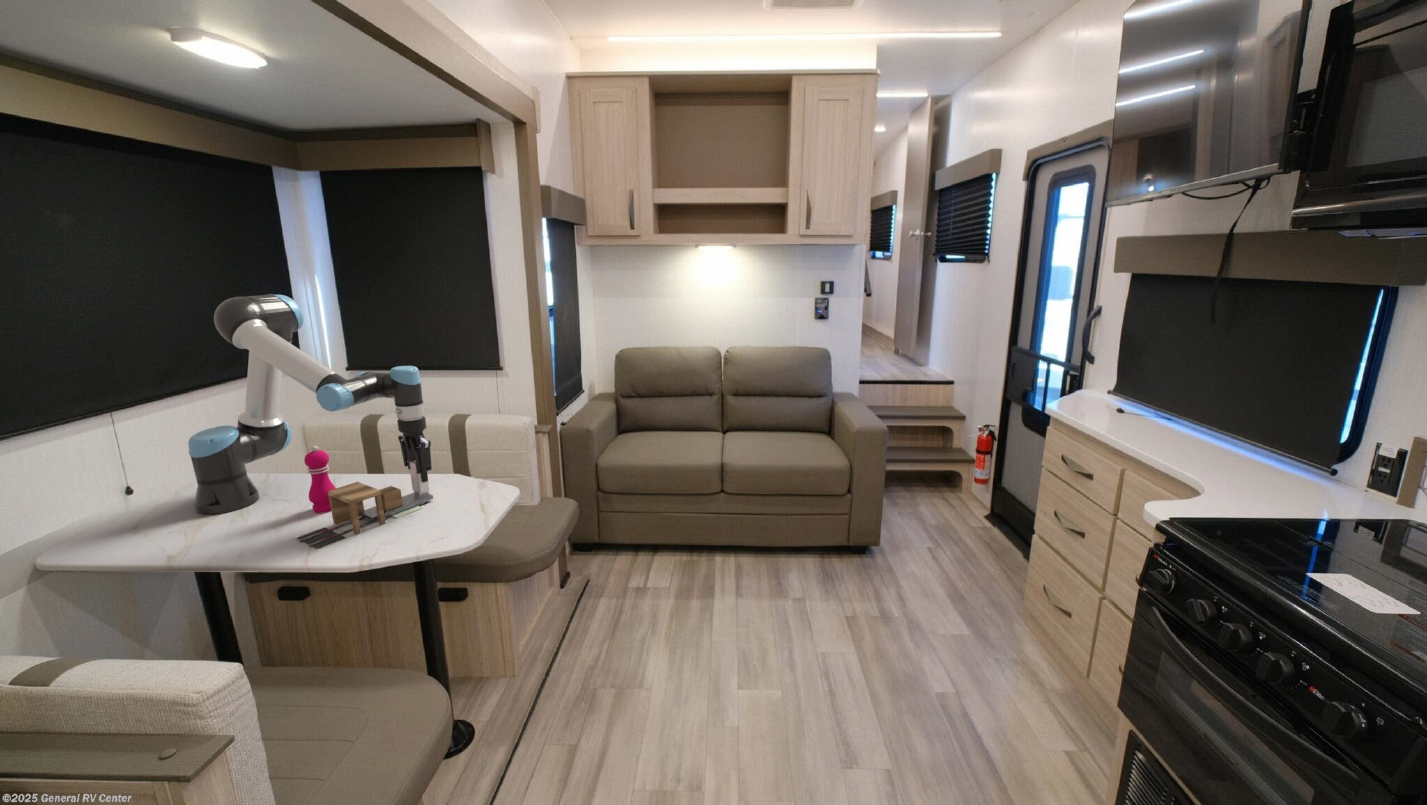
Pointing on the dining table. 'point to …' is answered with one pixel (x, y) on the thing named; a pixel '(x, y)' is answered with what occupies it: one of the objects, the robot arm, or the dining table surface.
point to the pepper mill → (319, 480)
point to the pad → (406, 511)
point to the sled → (407, 500)
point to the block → (391, 498)
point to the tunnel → (353, 503)
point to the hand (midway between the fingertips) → (420, 489)
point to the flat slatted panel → (321, 538)
